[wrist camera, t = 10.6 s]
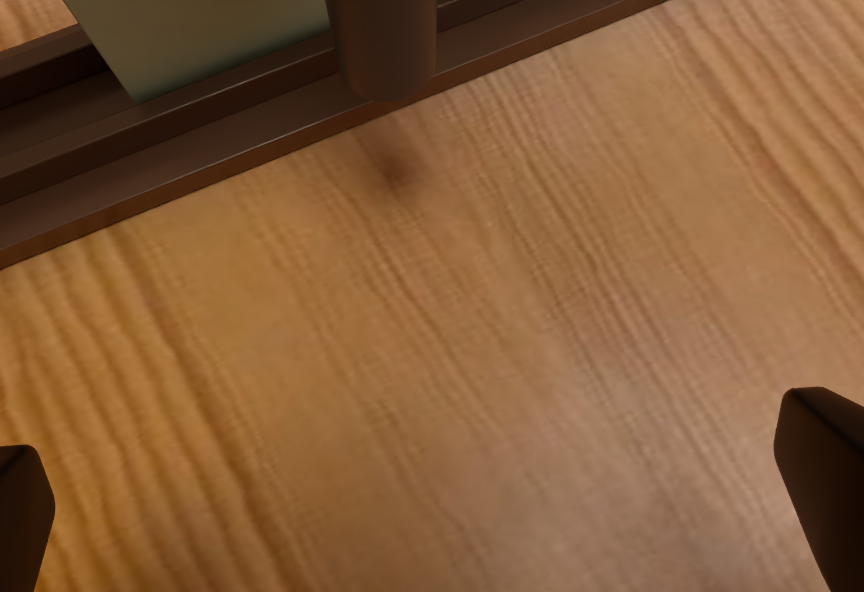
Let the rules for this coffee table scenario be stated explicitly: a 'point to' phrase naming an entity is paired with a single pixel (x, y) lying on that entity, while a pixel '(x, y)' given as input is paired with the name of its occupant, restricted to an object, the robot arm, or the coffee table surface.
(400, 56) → the door
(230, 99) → the door frame
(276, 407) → the coffee table surface
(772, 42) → the coffee table surface
